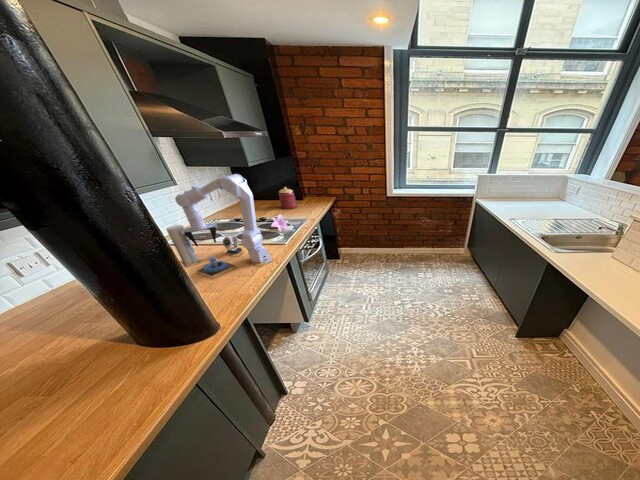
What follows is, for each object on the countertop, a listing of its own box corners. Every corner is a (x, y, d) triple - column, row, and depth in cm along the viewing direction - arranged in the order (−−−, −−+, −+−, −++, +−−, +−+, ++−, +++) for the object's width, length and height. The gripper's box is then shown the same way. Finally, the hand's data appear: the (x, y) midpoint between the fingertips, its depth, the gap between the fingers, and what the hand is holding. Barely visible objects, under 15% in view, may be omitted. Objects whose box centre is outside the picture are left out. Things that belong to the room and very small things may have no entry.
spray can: (187, 261, 131) (169, 225, 121) (201, 259, 133) (185, 224, 123) (182, 267, 126) (163, 230, 116) (197, 265, 128) (180, 228, 118)
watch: (226, 257, 137) (218, 239, 131) (236, 251, 143) (229, 233, 138) (235, 257, 136) (228, 239, 131) (245, 251, 143) (238, 233, 138)
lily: (270, 234, 169) (272, 223, 164) (268, 223, 175) (270, 212, 170) (289, 236, 177) (291, 226, 171) (287, 225, 183) (289, 215, 177)
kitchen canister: (283, 205, 227) (278, 185, 218) (298, 205, 229) (294, 185, 220) (279, 209, 216) (274, 188, 207) (295, 209, 218) (291, 188, 209)
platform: (236, 267, 127) (233, 259, 124) (212, 278, 117) (208, 269, 115) (221, 262, 131) (218, 254, 128) (197, 273, 121) (192, 264, 119)
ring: (228, 268, 123) (226, 263, 122) (206, 274, 118) (204, 268, 116) (224, 259, 131) (221, 254, 129) (203, 265, 126) (200, 259, 124)
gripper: (211, 213, 127) (221, 238, 134) (175, 219, 119) (187, 245, 126) (214, 217, 123) (223, 242, 130) (176, 223, 114) (189, 249, 121)
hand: (206, 243), depth 127 cm, fingers open, 7 cm apart
